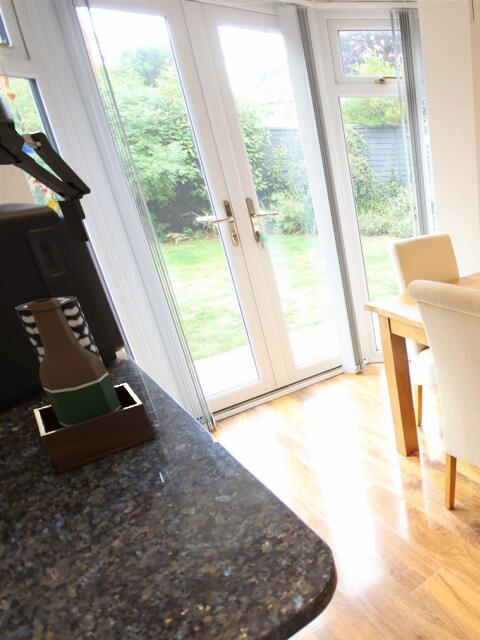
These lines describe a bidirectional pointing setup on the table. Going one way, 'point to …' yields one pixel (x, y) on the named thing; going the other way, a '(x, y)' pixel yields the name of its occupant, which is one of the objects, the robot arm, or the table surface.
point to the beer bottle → (70, 369)
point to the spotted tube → (74, 319)
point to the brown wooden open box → (95, 432)
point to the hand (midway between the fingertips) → (31, 249)
